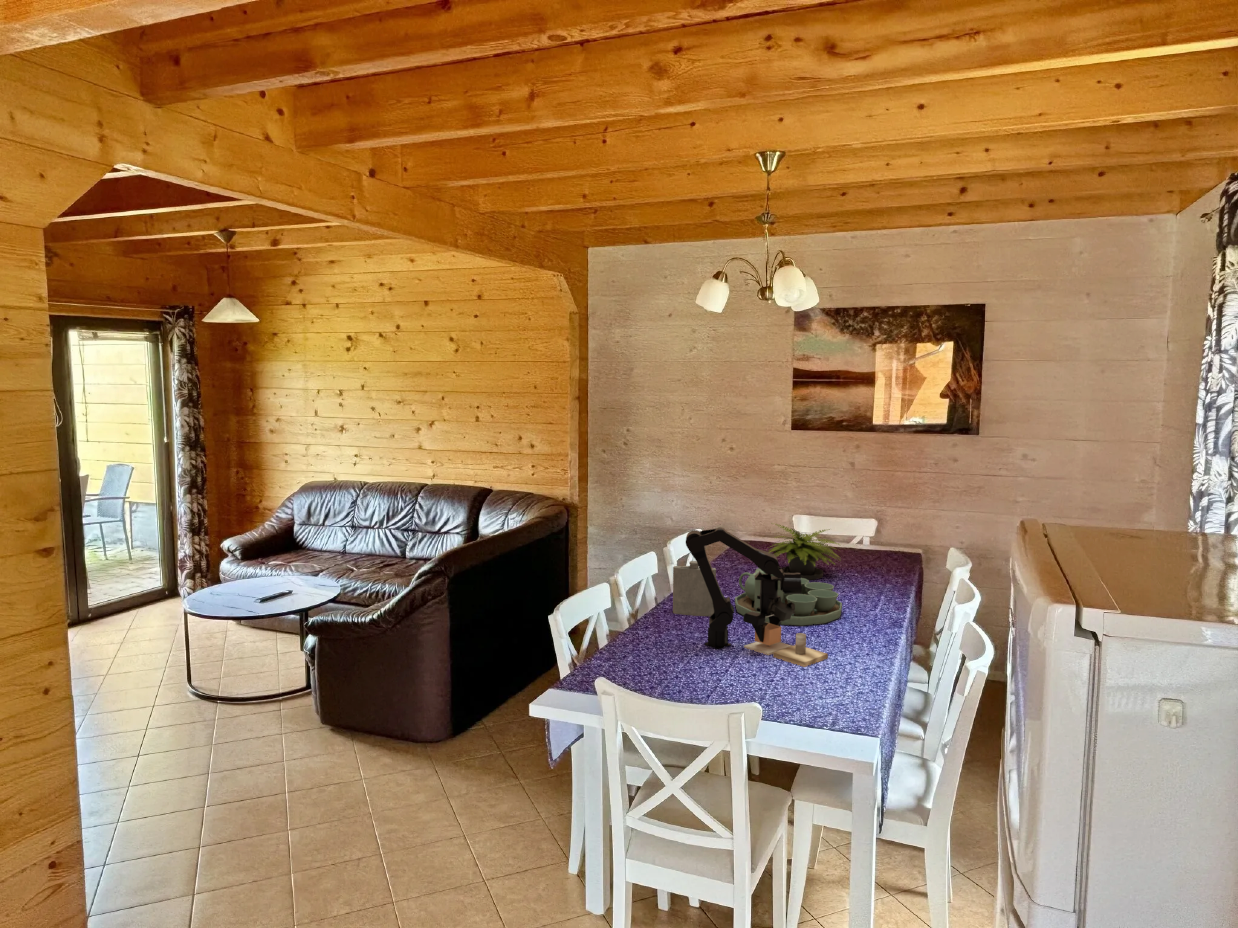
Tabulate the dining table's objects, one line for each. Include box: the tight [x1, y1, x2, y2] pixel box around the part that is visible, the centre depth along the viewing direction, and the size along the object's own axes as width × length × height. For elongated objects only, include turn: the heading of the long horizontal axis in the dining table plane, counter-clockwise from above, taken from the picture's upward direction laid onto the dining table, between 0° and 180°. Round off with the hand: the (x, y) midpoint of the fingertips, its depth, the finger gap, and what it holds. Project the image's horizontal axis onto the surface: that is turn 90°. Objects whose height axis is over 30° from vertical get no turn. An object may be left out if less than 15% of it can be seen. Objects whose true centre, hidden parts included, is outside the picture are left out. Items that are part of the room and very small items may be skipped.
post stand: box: [772, 632, 829, 668], centre depth 262 cm, size 12×12×8 cm
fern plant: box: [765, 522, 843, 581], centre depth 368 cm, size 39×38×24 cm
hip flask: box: [672, 560, 717, 617], centre depth 308 cm, size 16×4×20 cm, turn 76°
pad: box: [743, 641, 793, 656], centre depth 272 cm, size 12×10×1 cm
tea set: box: [734, 567, 843, 627], centre depth 313 cm, size 40×40×16 cm
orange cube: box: [754, 623, 782, 645], centre depth 271 cm, size 6×6×5 cm
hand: (767, 639), depth 271 cm, fingers closed on orange cube, 6 cm apart
